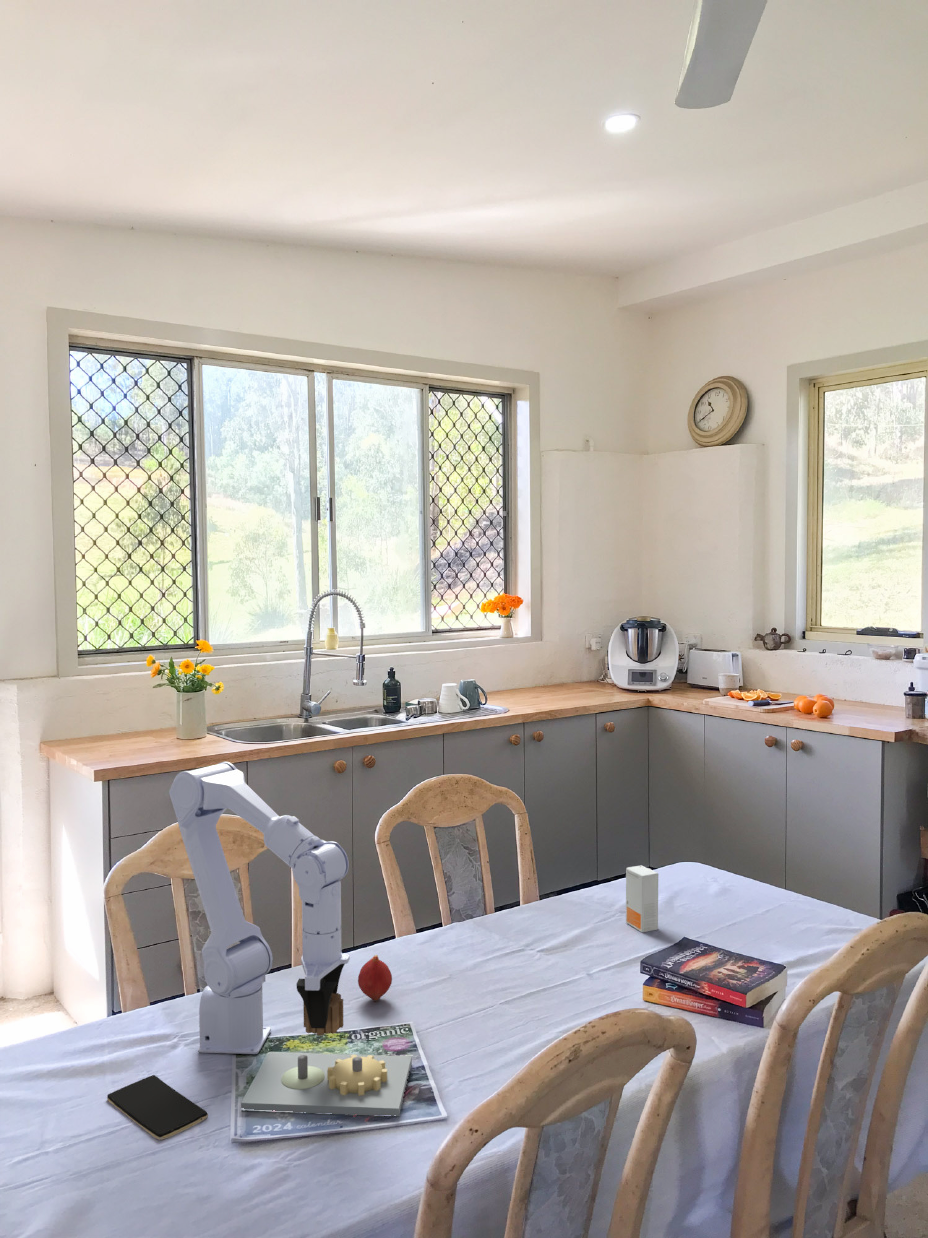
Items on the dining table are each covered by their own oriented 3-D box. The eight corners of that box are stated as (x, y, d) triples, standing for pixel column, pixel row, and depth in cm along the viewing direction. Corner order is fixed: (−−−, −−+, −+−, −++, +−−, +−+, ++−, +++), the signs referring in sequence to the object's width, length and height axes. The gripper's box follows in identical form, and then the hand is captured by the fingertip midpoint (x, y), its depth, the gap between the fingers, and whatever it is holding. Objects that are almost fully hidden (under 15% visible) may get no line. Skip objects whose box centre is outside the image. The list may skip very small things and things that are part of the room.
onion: (351, 1003, 166) (351, 958, 166) (370, 990, 171) (369, 946, 171) (380, 1010, 163) (379, 964, 163) (398, 997, 168) (397, 952, 168)
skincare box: (624, 923, 202) (625, 867, 202) (641, 920, 204) (642, 864, 204) (641, 933, 197) (642, 876, 196) (658, 930, 199) (659, 873, 198)
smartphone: (153, 1073, 142) (209, 1112, 132) (153, 1081, 142) (209, 1120, 132) (105, 1094, 137) (160, 1136, 126) (105, 1102, 137) (160, 1145, 126)
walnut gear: (300, 1035, 141) (299, 1008, 140) (308, 1016, 146) (307, 991, 146) (339, 1036, 140) (339, 1009, 140) (346, 1017, 146) (345, 991, 146)
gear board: (241, 1111, 133) (240, 1082, 133) (268, 1059, 147) (268, 1032, 147) (398, 1117, 132) (398, 1087, 132) (411, 1064, 146) (411, 1037, 146)
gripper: (339, 947, 135) (340, 1041, 136) (356, 910, 149) (357, 995, 150) (289, 946, 135) (291, 1040, 136) (311, 909, 150) (312, 994, 151)
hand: (322, 1017), depth 143 cm, fingers closed on walnut gear, 6 cm apart
